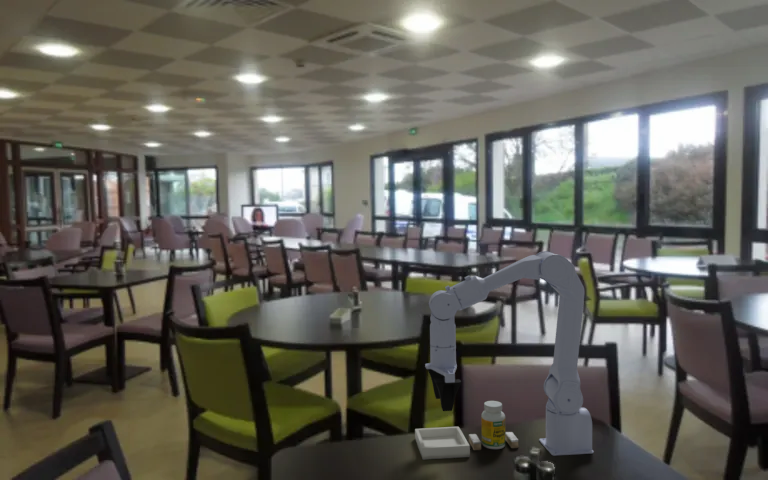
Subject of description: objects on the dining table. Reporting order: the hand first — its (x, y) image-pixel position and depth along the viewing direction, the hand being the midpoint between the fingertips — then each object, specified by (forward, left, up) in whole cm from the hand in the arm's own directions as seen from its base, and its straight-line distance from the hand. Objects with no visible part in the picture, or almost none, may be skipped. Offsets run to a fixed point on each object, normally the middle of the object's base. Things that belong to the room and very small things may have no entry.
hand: (443, 404), depth 123 cm
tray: (+1, 0, -10) cm, 10 cm away
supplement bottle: (-11, 0, -10) cm, 15 cm away
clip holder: (-11, 0, -10) cm, 15 cm away
